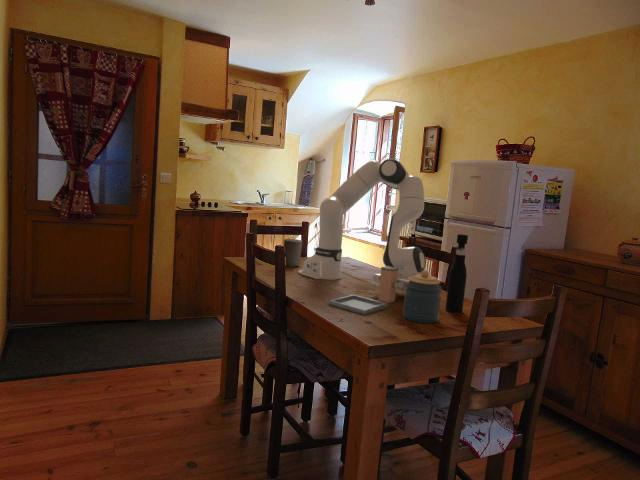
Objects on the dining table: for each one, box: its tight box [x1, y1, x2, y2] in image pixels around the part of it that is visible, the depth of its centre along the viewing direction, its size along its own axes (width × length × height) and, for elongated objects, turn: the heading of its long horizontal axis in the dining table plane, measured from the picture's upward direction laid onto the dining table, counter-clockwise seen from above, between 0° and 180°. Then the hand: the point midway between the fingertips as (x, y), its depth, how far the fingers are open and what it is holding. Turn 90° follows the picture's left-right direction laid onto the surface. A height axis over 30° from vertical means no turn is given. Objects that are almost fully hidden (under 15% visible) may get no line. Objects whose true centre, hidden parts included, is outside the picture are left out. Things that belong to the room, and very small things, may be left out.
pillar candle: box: [283, 238, 303, 268], centre depth 252 cm, size 10×10×15 cm
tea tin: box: [377, 265, 399, 304], centre depth 193 cm, size 5×5×14 cm
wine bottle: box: [445, 233, 469, 314], centre depth 184 cm, size 6×6×30 cm
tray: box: [328, 294, 388, 316], centre depth 181 cm, size 16×16×2 cm
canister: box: [402, 269, 443, 324], centre depth 170 cm, size 13×13×18 cm
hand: (387, 283), depth 192 cm, fingers closed on tea tin, 5 cm apart
